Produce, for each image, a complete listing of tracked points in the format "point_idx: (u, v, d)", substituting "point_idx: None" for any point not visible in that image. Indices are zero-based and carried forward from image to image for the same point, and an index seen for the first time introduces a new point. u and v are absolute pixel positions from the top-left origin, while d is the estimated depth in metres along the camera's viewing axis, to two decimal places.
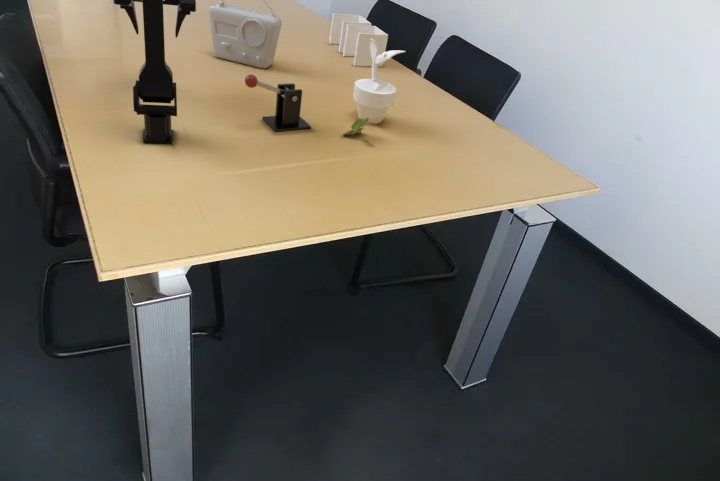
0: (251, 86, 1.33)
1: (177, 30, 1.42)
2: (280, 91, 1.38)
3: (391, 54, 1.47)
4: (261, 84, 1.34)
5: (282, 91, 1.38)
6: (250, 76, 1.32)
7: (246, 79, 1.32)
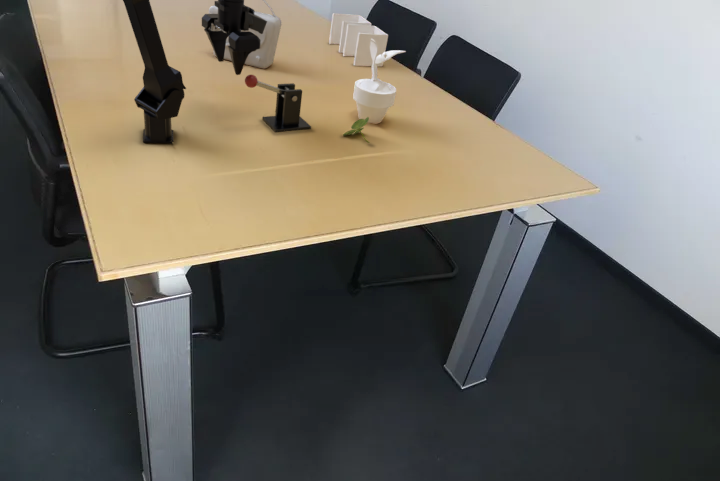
0: (251, 86, 1.33)
1: (234, 66, 1.30)
2: (280, 91, 1.38)
3: (391, 54, 1.47)
4: (261, 84, 1.34)
5: (282, 91, 1.38)
6: (250, 76, 1.32)
7: (246, 79, 1.32)
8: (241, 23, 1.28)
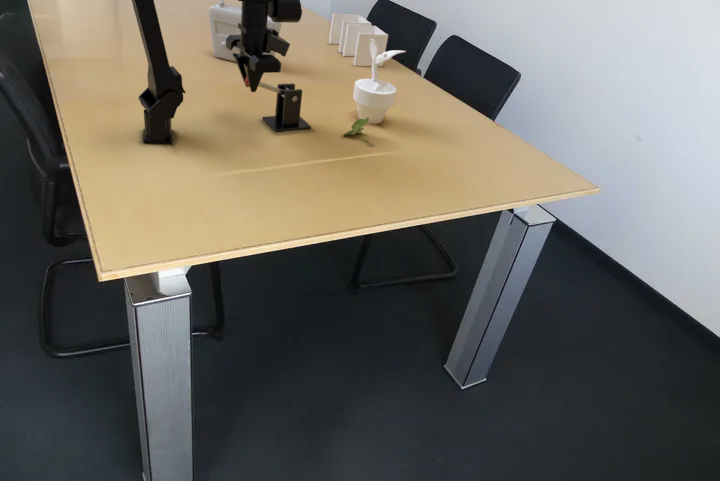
0: None
1: (249, 84, 1.31)
2: (280, 91, 1.38)
3: (391, 54, 1.47)
4: (261, 84, 1.34)
5: (282, 91, 1.38)
6: None
7: (246, 79, 1.32)
8: (263, 45, 1.27)
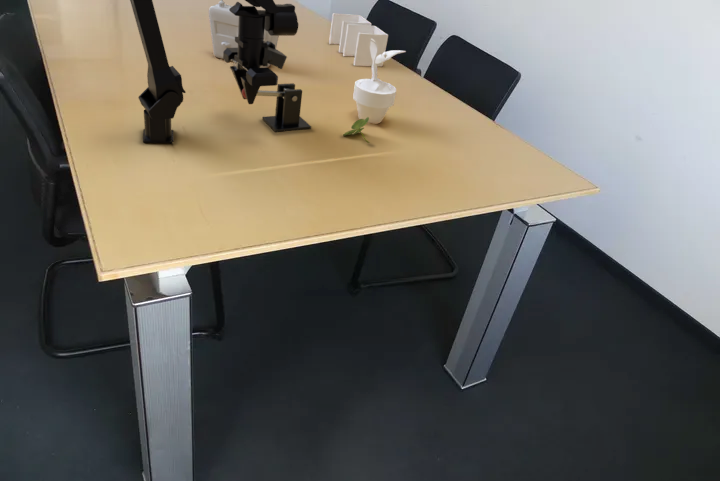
0: None
1: (246, 96, 1.32)
2: (279, 94, 1.38)
3: (391, 54, 1.47)
4: (258, 93, 1.35)
5: (281, 93, 1.39)
6: None
7: (243, 92, 1.33)
8: (260, 59, 1.29)
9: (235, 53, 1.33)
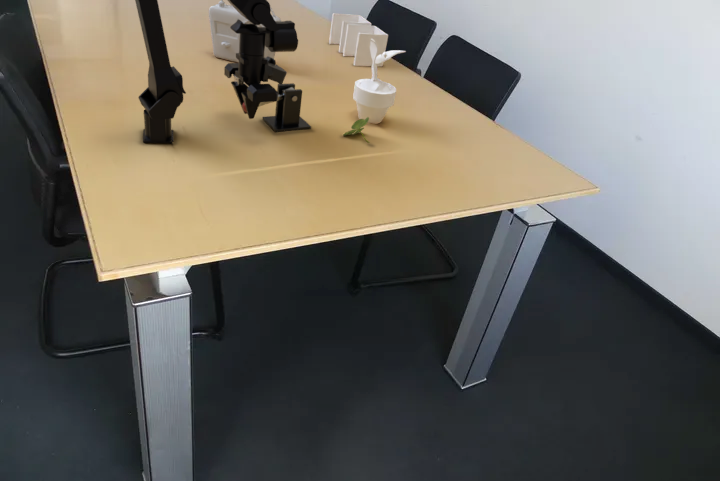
0: None
1: (247, 111, 1.35)
2: (279, 98, 1.39)
3: (391, 54, 1.47)
4: None
5: (281, 97, 1.39)
6: None
7: (243, 108, 1.36)
8: (261, 75, 1.31)
9: (236, 69, 1.35)
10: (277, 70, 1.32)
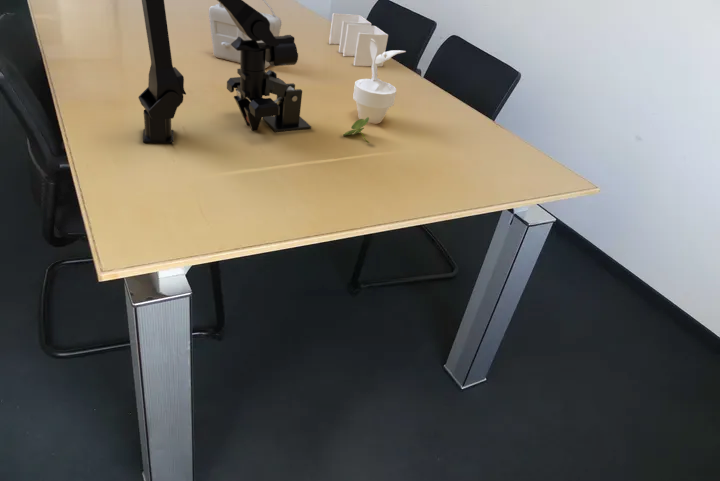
0: None
1: (250, 125, 1.37)
2: (280, 101, 1.39)
3: (391, 54, 1.47)
4: None
5: (281, 99, 1.39)
6: None
7: (248, 121, 1.38)
8: (262, 89, 1.33)
9: (238, 83, 1.38)
10: (278, 84, 1.35)
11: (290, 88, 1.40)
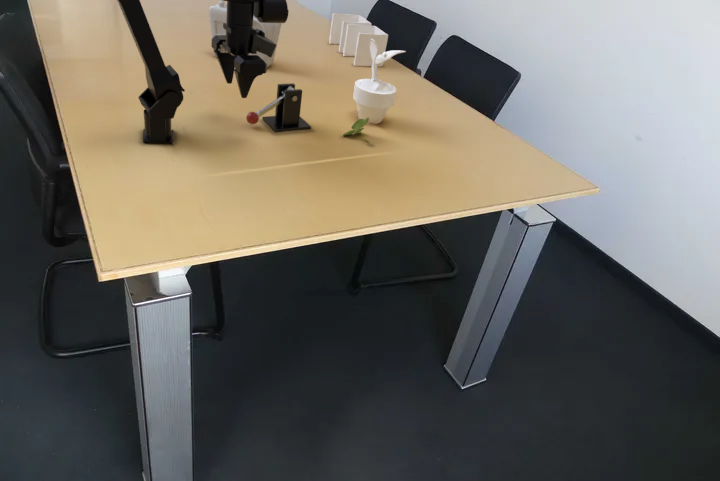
0: (255, 122, 1.39)
1: (239, 90, 1.27)
2: (280, 101, 1.39)
3: (391, 54, 1.47)
4: (261, 112, 1.39)
5: (281, 99, 1.39)
6: (248, 117, 1.37)
7: (248, 121, 1.38)
8: (249, 46, 1.26)
9: (223, 40, 1.30)
10: (266, 42, 1.27)
11: (290, 88, 1.40)
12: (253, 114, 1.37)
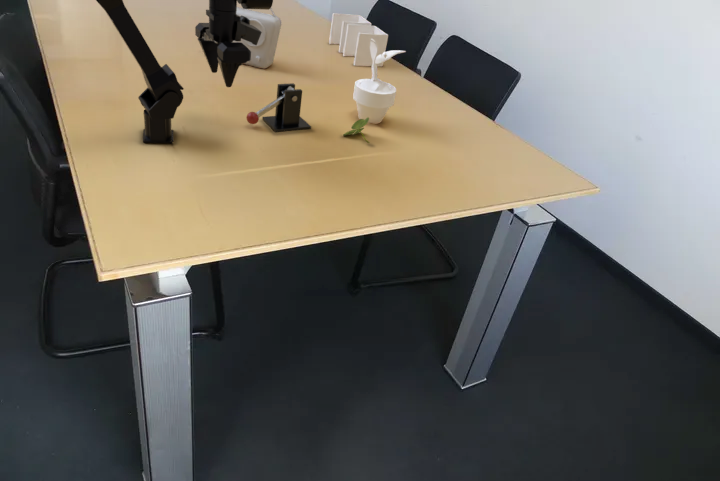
0: (255, 122, 1.39)
1: (224, 78, 1.24)
2: (280, 101, 1.39)
3: (391, 54, 1.47)
4: (261, 112, 1.39)
5: (281, 99, 1.39)
6: (248, 117, 1.37)
7: (248, 121, 1.38)
8: (233, 33, 1.22)
9: (207, 28, 1.26)
10: (251, 29, 1.23)
11: (290, 88, 1.40)
12: (253, 114, 1.37)
